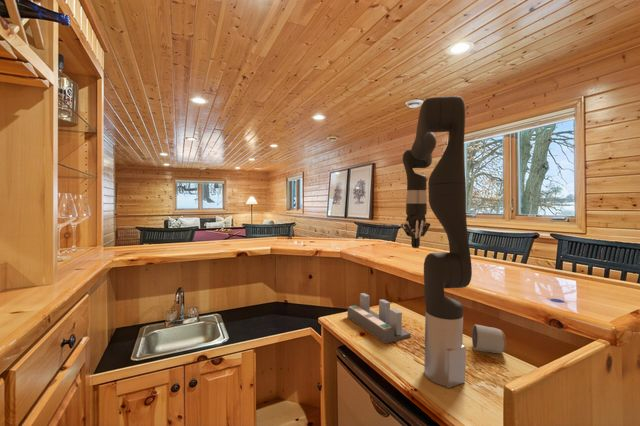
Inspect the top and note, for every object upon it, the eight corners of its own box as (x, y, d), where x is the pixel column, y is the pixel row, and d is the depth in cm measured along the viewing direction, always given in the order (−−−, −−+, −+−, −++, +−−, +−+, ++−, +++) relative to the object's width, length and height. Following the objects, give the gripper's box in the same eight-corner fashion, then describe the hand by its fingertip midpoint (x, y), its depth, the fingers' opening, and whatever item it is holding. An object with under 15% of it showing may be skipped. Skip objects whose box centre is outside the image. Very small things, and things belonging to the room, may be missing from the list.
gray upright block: (389, 322, 110) (390, 302, 109) (385, 323, 109) (385, 303, 108) (383, 318, 113) (383, 299, 113) (378, 319, 112) (379, 299, 112)
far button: (369, 314, 117) (369, 295, 117) (365, 315, 116) (365, 296, 116) (363, 310, 121) (364, 292, 120) (359, 311, 120) (359, 293, 119)
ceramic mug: (506, 358, 87) (507, 333, 87) (476, 354, 90) (477, 329, 89) (495, 342, 98) (496, 319, 97) (468, 339, 100) (469, 317, 100)
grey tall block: (401, 334, 100) (401, 312, 100) (396, 335, 99) (397, 313, 99) (393, 329, 103) (394, 308, 103) (389, 330, 103) (389, 309, 102)
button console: (410, 337, 101) (410, 323, 101) (384, 343, 96) (384, 329, 96) (370, 312, 123) (370, 301, 122) (347, 317, 118) (347, 305, 118)
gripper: (409, 202, 105) (408, 250, 106) (436, 202, 111) (435, 248, 111) (396, 202, 112) (395, 247, 113) (422, 202, 117) (421, 245, 118)
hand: (415, 247), depth 112 cm, fingers closed
